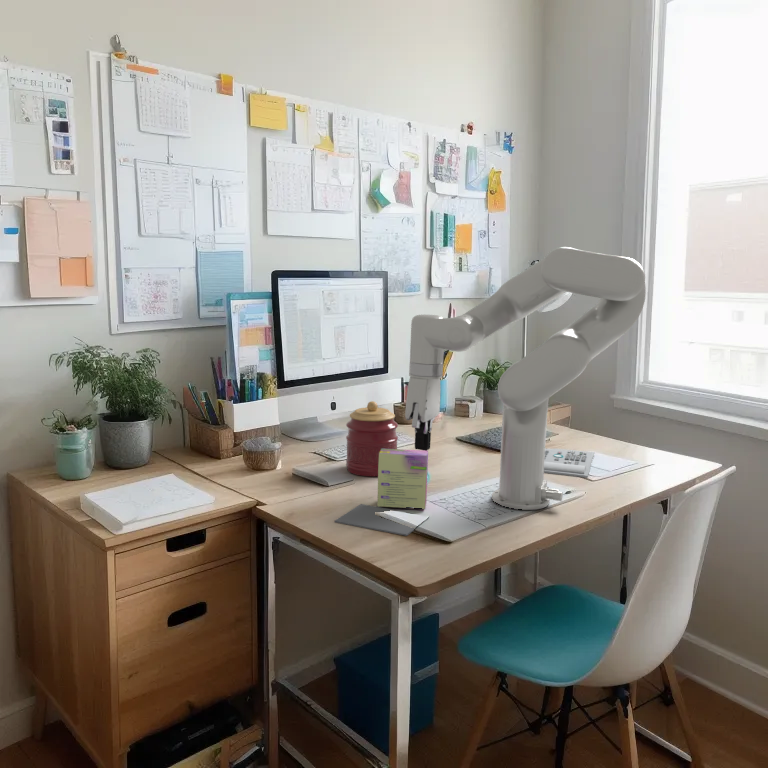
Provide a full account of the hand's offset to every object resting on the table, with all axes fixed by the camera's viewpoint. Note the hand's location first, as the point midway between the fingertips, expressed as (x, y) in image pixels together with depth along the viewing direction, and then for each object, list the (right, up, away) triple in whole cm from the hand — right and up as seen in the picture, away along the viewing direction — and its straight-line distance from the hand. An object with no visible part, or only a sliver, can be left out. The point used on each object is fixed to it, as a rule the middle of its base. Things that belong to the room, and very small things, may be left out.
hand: (422, 448), depth 166 cm
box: (-5, -12, -9) cm, 16 cm away
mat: (-9, -13, -18) cm, 24 cm away
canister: (-12, -7, +17) cm, 22 cm away
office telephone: (+36, -7, +27) cm, 46 cm away
